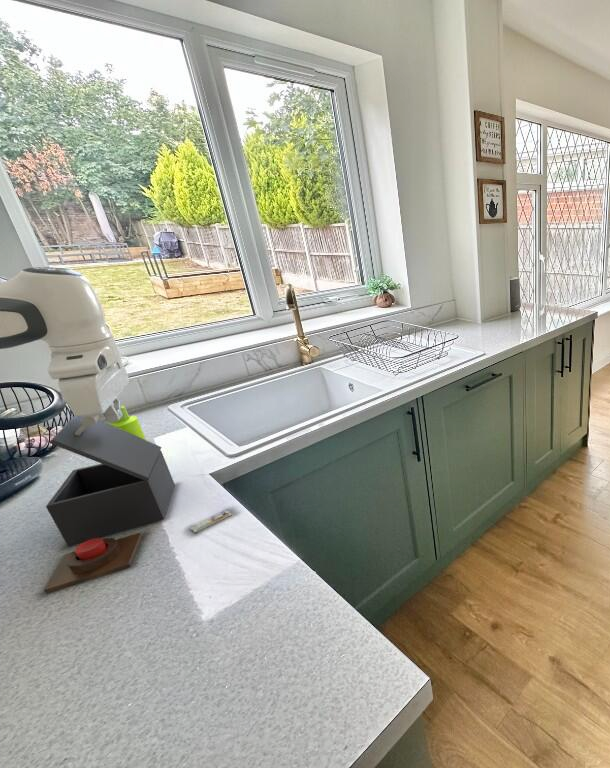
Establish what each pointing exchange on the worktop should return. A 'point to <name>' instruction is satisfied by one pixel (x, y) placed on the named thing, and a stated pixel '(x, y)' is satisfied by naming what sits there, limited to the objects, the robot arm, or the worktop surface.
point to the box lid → (108, 445)
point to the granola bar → (210, 521)
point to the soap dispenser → (129, 424)
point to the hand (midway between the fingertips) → (115, 419)
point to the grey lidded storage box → (109, 501)
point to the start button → (90, 548)
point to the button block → (95, 563)
